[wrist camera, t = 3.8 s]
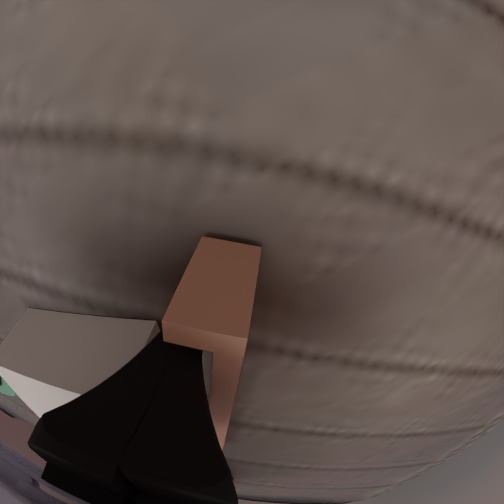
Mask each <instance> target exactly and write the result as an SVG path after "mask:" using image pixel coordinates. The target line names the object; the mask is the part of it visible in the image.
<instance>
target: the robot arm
mask: <svg viewBox="0 0 504 504" xmlns="http://www.w3.org/2000/svg"><path fill="white" fill-rule="evenodd" d="M202 351H203V350H200V349H196V348H191V347H187V346H182V345H178V344H174V343H170V342H165V341H163V329H161V331H160V332H159V333H158V334H157V335H156V336H155V337H154V338H153V339H152V340H151V341H150V342H149V343H148V344H147V345H146V346H145V347H144V348H143V349H142V350H141V351H140V352H139V353H138V354H137V355H136V356H135V357H133V358H132V359H131V360H130V361H129V362H128V363H127V364H125V365H124V366H123V367H122V368H120V369H119V370H118V371H117V372H115V373H114V374H113V375H111V376H110V377H109V378H107V379H106V380H104V381H103V382H102V383H100V384H99V385H97V386H96V387H94V388H92V389H91V390H89V391H87V392H86V393H84V394H82V395H80V396H79V397H77V398H75V399H73V400H72V401H70V402H68V403H66V404H64V405H61V406H59V407H57V408H55V409H53V410H50V411H48V412H46V413H44V414H43V415H42V417H41V418H40V419H39V421H38V422H37V424H36V426H35V428H34V430H33V432H32V434H31V436H30V439H29V441H28V445H29V447H30V448H31V449H32V450H33V451H34V452H36V453H37V454H38V455H39V456H40V457H41V458H43V459H44V460H45V461H47V463H46V466H45V469H43V468H41V467H40V466H38V465H36V464H34V463H33V462H31V461H29V460H28V459H26V458H25V457H23V456H21V455H20V454H18V453H17V452H15V451H14V450H12V449H11V448H9V447H8V446H6V445H5V444H3V443H2V442H0V504H67V503H66V502H64V501H62V500H60V499H58V498H55V497H54V496H52V495H50V494H48V493H47V492H44V491H43V490H41V488H40V486H39V483H41V484H43V485H45V486H47V487H48V488H50V489H52V490H54V491H56V492H58V493H59V494H61V495H63V496H65V497H67V498H69V499H71V500H73V501H75V502H78V503H80V504H238V498H237V494H236V490H235V487H234V480H233V479H232V475H231V472H230V469H229V467H228V464H227V462H226V459H225V457H224V454H223V452H222V449H221V446H220V443H219V440H218V437H217V434H216V431H215V427H214V424H213V420H212V417H211V413H210V409H209V405H208V400H207V395H206V390H205V384H204V377H203V368H202ZM37 481H38V482H39V483H38V482H37Z"/></svg>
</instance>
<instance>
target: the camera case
mask: <svg viewBox="0 0 504 504" xmlns="http://www.w3.org/2000/svg"><path fill="white" fill-rule="evenodd" d="M159 332H160V329H159V326H158V324H157V321H152V320H137V319H124V318H112V317H101V316H91V315H81V314H72V313H64V312H56V311H48V310H40V309H33V308H28V309H27V311H26V312H25V313H24V314H23V316H22V317H21V318H20V319H19V321H18V322H17V323H16V325H15V326H14V327H13V328H12V330H11V331H10V332H9V334H8V335H7V336H6V338H5V339H4V341H3V342H2V343H1V345H0V375H1V377H2V378H3V379H4V380H5V381H6V382H7V384H8V385H9V386H10V387H11V388H12V389H13V390H14V392H15V393H16V394H17V395H18V396H19V397H20V398H21V399H22V400H23V401H24V402H25V403H26V404H27V405H28V406H29V408H30V409H31V410H32V411H33V412H34V413H35V414H36V415H37V416H38V417H40V418H41V417H42V415H43V414H44V413H46V412H48V411H50V410H53V409H55V408H57V407H59V406H61V405H64V404H66V403H68V402H70V401H72V400H73V399H75V398H77V397H79V396H80V395H82V394H84V393H86V392H87V391H89V390H91V389H92V388H94V387H96V386H97V385H99V384H100V383H102V382H103V381H104V380H106V379H107V378H109V377H110V376H111V375H113V374H114V373H115V372H117V371H118V370H119V369H120V368H122V367H123V366H124V365H125V364H127V363H128V362H129V361H130V360H131V359H132V358H133V357H135V356H136V355H137V354H138V353H139V352H140V351H141V350H142V349H143V348H144V347H145V346H146V345H147V344H148V343H149V342H150V341H151V340H152V339H153V338H154V337H155V336H156V335H157V334H158V333H159Z"/></svg>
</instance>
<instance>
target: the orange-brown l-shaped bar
mask: <svg viewBox="0 0 504 504" xmlns="http://www.w3.org/2000/svg"><path fill="white" fill-rule="evenodd" d="M261 250H262V247H258V246H253V245H247V244H242V243H237V242H231V241H226V240H220V239H215V238H209V237H204V236H202V238H201V240H200V242H199V244H198V246H197V248H196V250H195V252H194V254H193V256H192V258H191V260H190V262H189V264H188V266H187V268H186V270H185V272H184V274H183V277H182V279H181V281H180V283H179V285H178V287H177V289H176V291H175V293H174V296H173V298H172V300H171V302H170V304H169V306H168V309H167V311H166V313H165V315H164V317H163V320H162V329H163V341H165V342H170V343H174V344H178V345H182V346H187V347H191V348H196V349H200V350H205V351H210V352H214V356H213V366H212V377H211V388H210V399H209V409H210V413H211V417H212V420H213V424H214V427H215V431H216V434H217V437H218V440H219V443H220V446H221V449H222V452H223V448H224V443H225V438H226V434H227V430H228V425H229V421H230V417H231V412H232V408H233V403H234V399H235V395H236V390H237V386H238V381H239V377H240V372H241V368H242V363H243V359H244V354H245V350H246V345H247V341H248V335H249V329H250V322H251V316H252V309H253V303H254V296H255V290H256V283H257V277H258V270H259V263H260V257H261Z"/></svg>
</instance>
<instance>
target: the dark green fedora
mask: <svg viewBox="0 0 504 504" xmlns="http://www.w3.org/2000/svg"><path fill="white" fill-rule="evenodd" d="M0 392H1V393H2V394H7V395H8V396H15V395H16V393H15V392H14V390H13V389H12V388H11V387H10V386H9V385H8V384H7V382H6V381H5V380H4V379H3V378H2V377H1V375H0Z"/></svg>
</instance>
